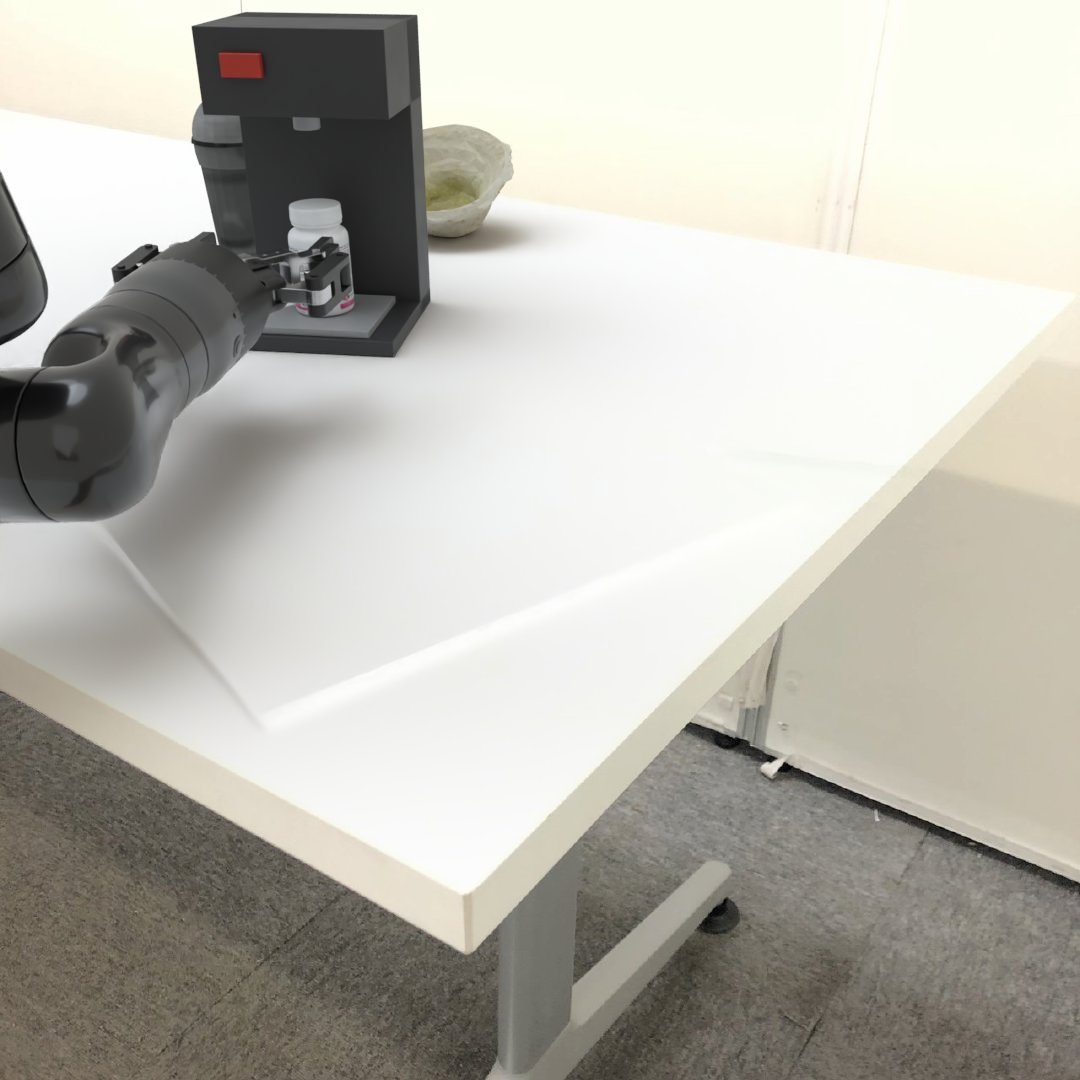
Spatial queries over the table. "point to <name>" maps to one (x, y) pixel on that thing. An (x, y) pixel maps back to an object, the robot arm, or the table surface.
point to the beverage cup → (225, 178)
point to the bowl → (462, 177)
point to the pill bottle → (318, 237)
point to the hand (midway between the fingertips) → (270, 248)
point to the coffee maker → (330, 156)
